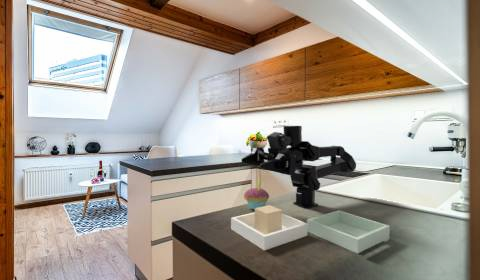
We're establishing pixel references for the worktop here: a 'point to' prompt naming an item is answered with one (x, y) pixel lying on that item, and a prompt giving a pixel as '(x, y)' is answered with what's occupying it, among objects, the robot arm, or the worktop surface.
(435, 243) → the worktop surface
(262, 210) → the beige plain cubic block
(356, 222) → the bin
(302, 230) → the bin
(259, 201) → the cupcake
